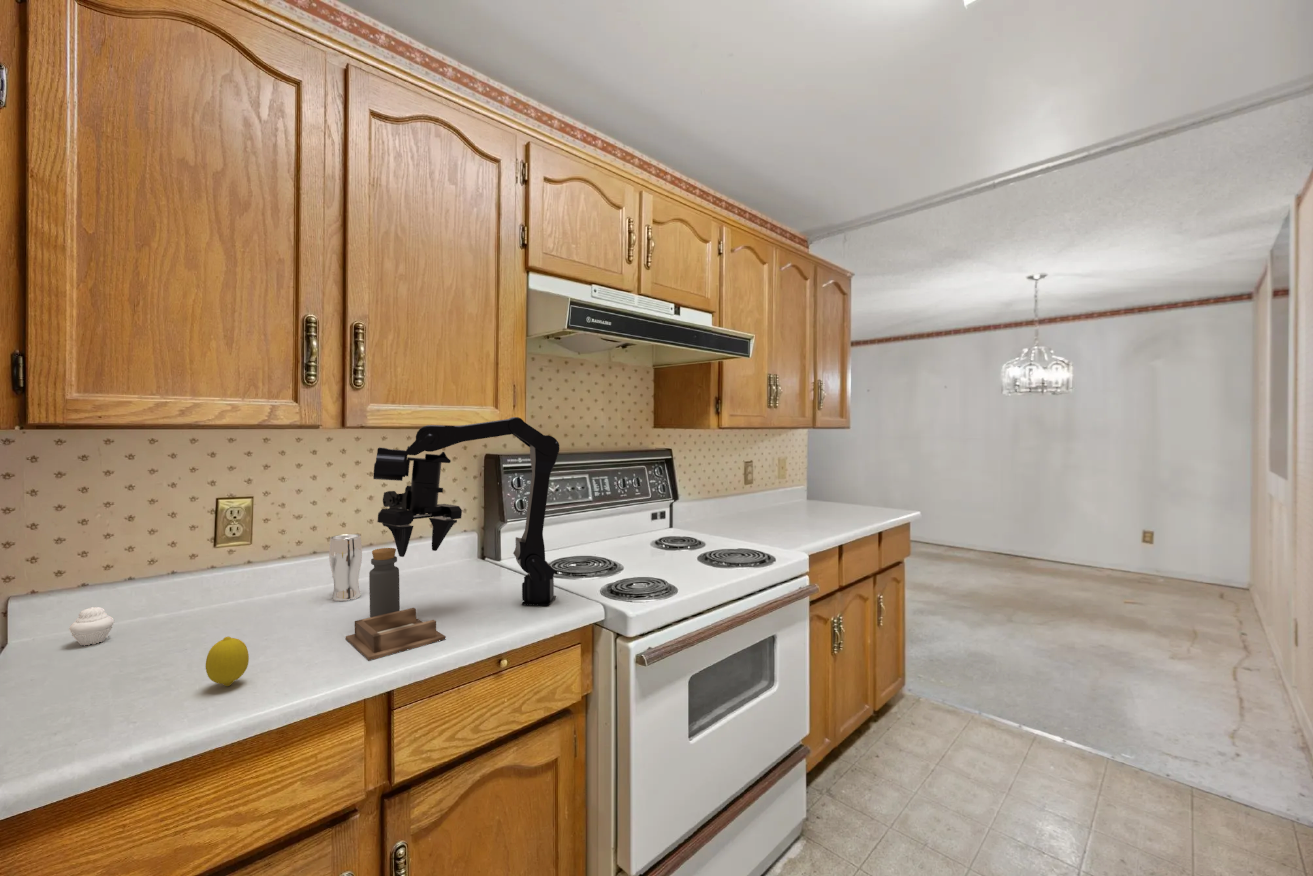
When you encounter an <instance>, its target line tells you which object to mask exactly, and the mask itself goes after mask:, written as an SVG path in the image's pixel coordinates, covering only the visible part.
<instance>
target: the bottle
mask: <svg viewBox="0 0 1313 876" xmlns="http://www.w3.org/2000/svg"><path fill="white" fill-rule="evenodd" d="M396 552H397V548H396V547H381V548H377V549H376V548H375V549H373V550H372V551H371V553H372V558H371V560H370V564H371V565H372V566H373V568H372V569H370V571H369V572H368V573H369V577H368V579H369V581H368V583H369V588H368V589H369V590H368V591H369V618H370V617H375V616H379V615H383V614H388V613H392V612H397V611H401V608H400V606H401V605H400V603H401V601H400V598H401V597H400V594H401V593H400V569H399V567H398V566H396V565H395V563H397V562H398V556H396Z"/></svg>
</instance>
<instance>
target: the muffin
mask: <svg viewBox="0 0 1313 876" xmlns="http://www.w3.org/2000/svg"><path fill="white" fill-rule="evenodd" d="M114 623H115V619H114V618H113V617H112V616H110V615H108V613H107V612H106V610H105V609H104V608H103V607H98V606H95V607H94V606H91V607H89V608H85V609H83V610H81V612H79V613H78V617H77V618H76V619H75V621H74V622H73V623H72V624H71V625H70V626H69V628H68V630H69V632H70V633H71V636H72V637H73V638H74V639H75V640H76V641H77V642H78V644H79V645H80V646H82V645H84V646H85V645H88V646H91V645H90V644H94V645H97V644H96V643H98V644H100V643H99V642H101V643H103V642H105V640H106V638H107V637H108V635H109V633H110V632H111V631H112V628H113V626H114ZM102 641H103V642H102ZM84 646H83V647H84ZM85 647H86V646H85Z"/></svg>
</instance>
